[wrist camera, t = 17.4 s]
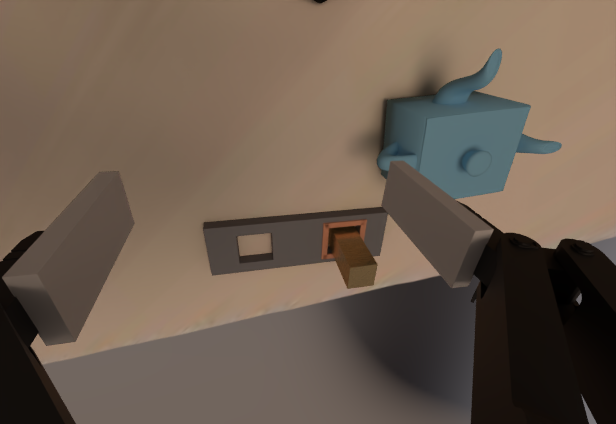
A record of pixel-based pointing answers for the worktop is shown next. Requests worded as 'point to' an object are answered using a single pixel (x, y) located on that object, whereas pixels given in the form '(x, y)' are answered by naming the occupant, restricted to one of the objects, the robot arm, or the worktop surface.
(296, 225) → the dark grey flat board
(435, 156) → the teakettle
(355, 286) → the wooden peg
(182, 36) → the worktop surface
